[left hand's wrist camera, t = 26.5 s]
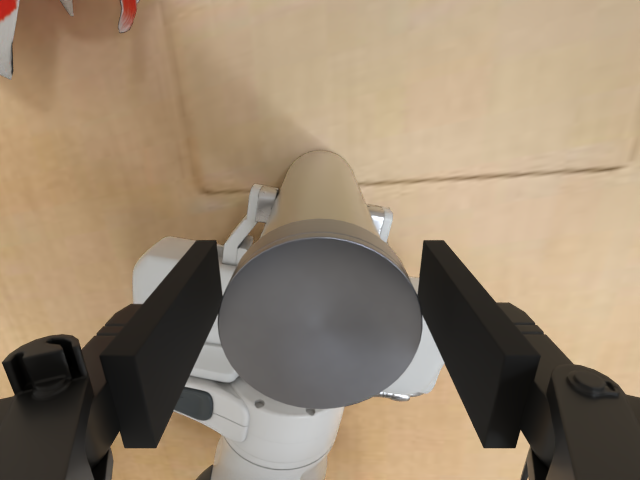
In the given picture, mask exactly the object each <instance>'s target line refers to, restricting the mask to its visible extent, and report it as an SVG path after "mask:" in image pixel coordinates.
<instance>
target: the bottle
mask: <svg viewBox="0 0 640 480" xmlns="http://www.w3.org/2000/svg"><path fill="white" fill-rule="evenodd" d="M306 219H334V220H340V221H345V222H348V223H352V224H355V225H357V226H360V227H362V228H364V229H367V230H368V231H370V232H372V233H373V234H375V235H377V236H378V237H379V238H380V235H379V233H378V231H377V228H376V226H375V223H374V221H373V219H372V216H371V214H370V212H369V209H368V207H367V204H366V202H365V200H364V197H363V195H362V192H361V190H360V188H359V185H358V183H357V181H356V178H355V176H354V173H353V171H352V169H351V167H350V166H349V164H348V163H347V162H346V161H345V160H344V159H343V158H342V157H340V156H339V155H337V154H335V153H332V152H329V151H324V150H317V151H311V152H308V153H305V154H303V155H302V156H300V157H299V158H297V159H296V160H295V161H294V162H293V163H292V165H291V166H290V168H289V170H288V172H287V174H286V176H285V179H284V181H283V184H282V186H281V188H280V191H279V193H278V195H277V198H276V200H275V203H274V205H273V207H272V210H271V212H270V215H269V217H268V219H267V222H266V224H265V226H264V229H263V231H262V234H261V236H260V238H261V237H263V236H264V235H266V234H267V233H268V232H270V231H272V230H274V229H276V228H278V227H280V226H283V225H286V224H289V223H292V222H296V221H301V220H306ZM260 238H259V239H260ZM380 239H381V238H380Z"/></svg>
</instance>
